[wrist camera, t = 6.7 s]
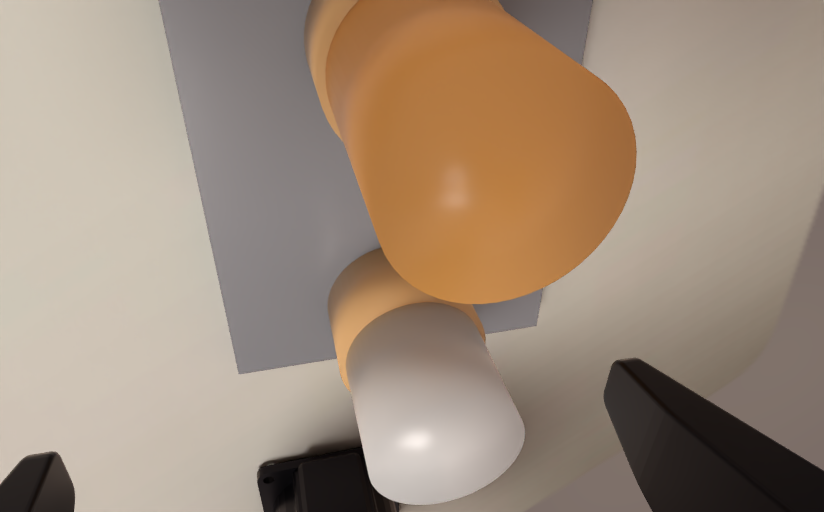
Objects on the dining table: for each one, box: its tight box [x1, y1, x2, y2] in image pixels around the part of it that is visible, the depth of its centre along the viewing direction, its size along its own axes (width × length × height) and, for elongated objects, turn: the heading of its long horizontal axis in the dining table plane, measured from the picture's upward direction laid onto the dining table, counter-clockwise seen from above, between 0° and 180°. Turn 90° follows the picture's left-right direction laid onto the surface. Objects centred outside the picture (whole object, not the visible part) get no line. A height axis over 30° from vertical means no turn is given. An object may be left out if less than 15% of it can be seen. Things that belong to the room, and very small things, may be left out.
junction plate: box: [159, 0, 593, 505], centre depth 17 cm, size 16×12×8 cm
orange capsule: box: [326, 0, 637, 304], centre depth 13 cm, size 5×5×6 cm
